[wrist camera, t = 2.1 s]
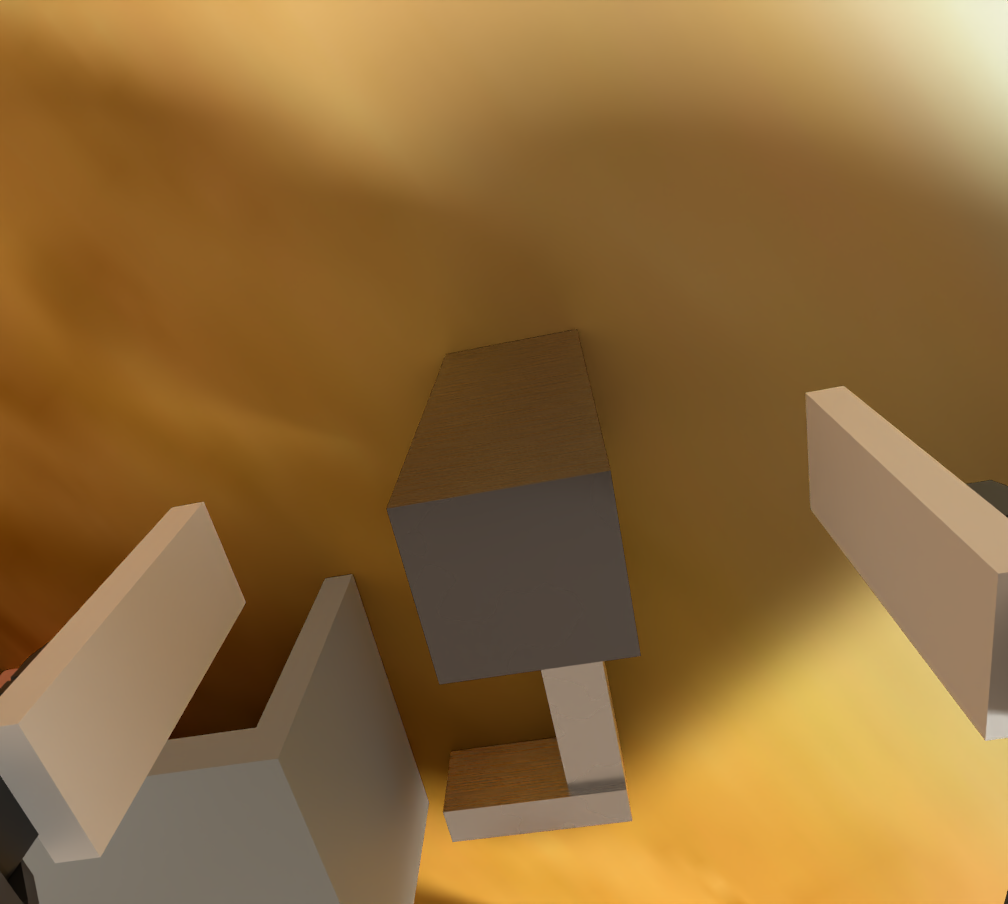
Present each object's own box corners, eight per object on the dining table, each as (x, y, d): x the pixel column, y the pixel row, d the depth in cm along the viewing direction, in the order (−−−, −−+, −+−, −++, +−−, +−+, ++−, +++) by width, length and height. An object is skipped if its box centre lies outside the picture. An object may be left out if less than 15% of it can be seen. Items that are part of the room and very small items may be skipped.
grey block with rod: (576, 329, 22) (610, 470, 13) (648, 755, 28) (705, 1053, 19) (335, 375, 23) (202, 540, 13) (459, 779, 29) (426, 1076, 20)
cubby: (352, 574, 25) (278, 758, 18) (429, 802, 30) (394, 1029, 22) (-85, 644, 27) (-319, 838, 20) (45, 850, 32) (-107, 1074, 24)
